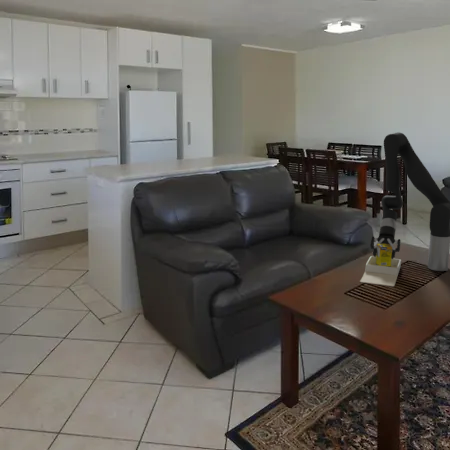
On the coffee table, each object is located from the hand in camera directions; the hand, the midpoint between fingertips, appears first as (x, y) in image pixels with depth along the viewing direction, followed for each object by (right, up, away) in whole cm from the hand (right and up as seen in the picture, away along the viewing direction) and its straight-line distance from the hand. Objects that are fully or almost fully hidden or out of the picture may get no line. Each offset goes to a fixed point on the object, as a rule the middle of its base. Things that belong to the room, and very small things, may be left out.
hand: (383, 257), depth 232 cm
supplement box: (+1, -5, +2) cm, 6 cm away
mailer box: (-2, -8, -4) cm, 9 cm away
